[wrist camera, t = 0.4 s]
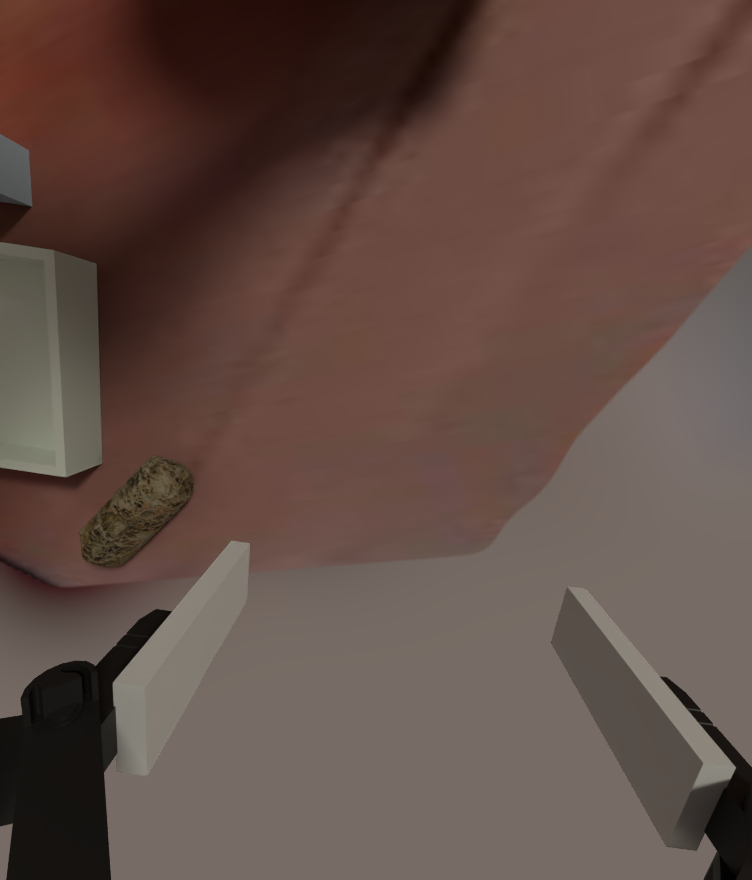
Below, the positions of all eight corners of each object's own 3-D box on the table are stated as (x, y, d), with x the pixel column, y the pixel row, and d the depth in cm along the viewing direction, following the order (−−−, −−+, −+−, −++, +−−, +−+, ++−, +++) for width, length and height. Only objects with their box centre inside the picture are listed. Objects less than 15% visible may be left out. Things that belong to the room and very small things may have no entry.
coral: (173, 443, 42) (137, 458, 36) (212, 480, 43) (184, 500, 37) (99, 521, 45) (54, 546, 39) (137, 554, 46) (100, 584, 40)
